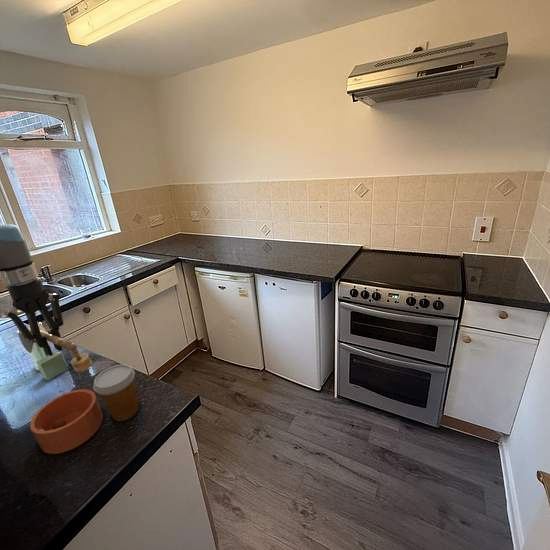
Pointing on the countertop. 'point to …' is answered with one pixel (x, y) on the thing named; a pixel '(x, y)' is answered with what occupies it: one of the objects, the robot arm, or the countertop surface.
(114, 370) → the disposable coffee cup
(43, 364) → the pale green box
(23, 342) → the beer glass
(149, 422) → the countertop surface
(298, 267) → the countertop surface
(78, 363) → the ladle
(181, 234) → the countertop surface
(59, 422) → the meatball
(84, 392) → the bowl
